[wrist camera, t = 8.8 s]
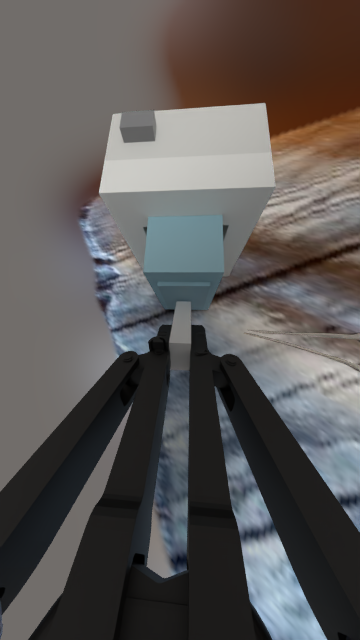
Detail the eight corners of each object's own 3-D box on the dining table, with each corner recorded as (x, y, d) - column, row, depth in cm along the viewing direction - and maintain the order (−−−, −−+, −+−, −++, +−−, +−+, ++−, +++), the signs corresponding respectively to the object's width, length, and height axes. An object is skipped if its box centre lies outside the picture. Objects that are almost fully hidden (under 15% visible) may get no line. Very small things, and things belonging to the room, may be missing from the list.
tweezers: (362, 335, 19) (380, 333, 18) (363, 373, 19) (382, 375, 17) (223, 313, 22) (225, 310, 20) (219, 345, 22) (220, 345, 20)
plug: (207, 258, 22) (221, 186, 13) (207, 312, 21) (224, 277, 11) (167, 259, 23) (150, 189, 13) (164, 311, 21) (142, 277, 11)
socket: (227, 228, 23) (270, 85, 11) (228, 276, 22) (283, 172, 9) (150, 230, 24) (107, 97, 12) (146, 276, 22) (91, 180, 10)
